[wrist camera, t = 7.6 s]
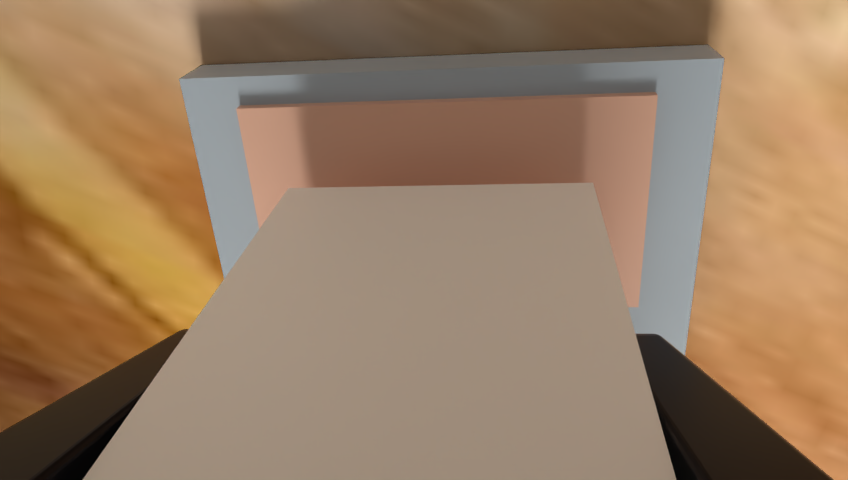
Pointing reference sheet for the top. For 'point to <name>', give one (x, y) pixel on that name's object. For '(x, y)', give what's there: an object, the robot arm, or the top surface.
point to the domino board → (478, 143)
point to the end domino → (407, 348)
